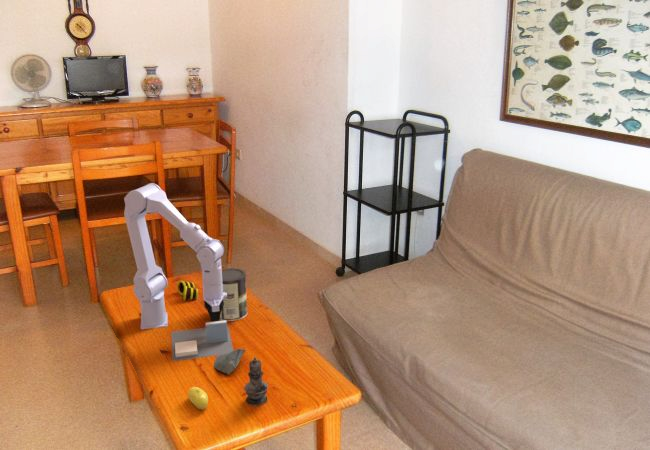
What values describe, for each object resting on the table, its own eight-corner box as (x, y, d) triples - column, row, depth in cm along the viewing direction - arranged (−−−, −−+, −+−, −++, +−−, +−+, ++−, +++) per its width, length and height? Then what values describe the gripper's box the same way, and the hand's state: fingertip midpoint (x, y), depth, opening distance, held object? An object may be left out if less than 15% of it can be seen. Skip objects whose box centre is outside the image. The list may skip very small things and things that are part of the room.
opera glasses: (198, 302, 203) (200, 289, 202) (183, 303, 201) (184, 289, 199) (191, 291, 211) (192, 278, 210) (176, 292, 209) (177, 278, 208)
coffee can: (238, 304, 200) (236, 265, 195) (253, 316, 191) (251, 276, 187) (210, 312, 194) (207, 272, 190) (223, 325, 186) (221, 283, 181)
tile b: (206, 341, 176) (205, 322, 174) (227, 338, 177) (226, 320, 175) (207, 343, 174) (205, 325, 173) (227, 341, 176) (226, 322, 174)
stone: (210, 383, 158) (246, 373, 157) (205, 370, 157) (241, 359, 156) (216, 365, 168) (250, 355, 168) (212, 352, 167) (245, 342, 167)
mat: (171, 333, 181) (171, 332, 181) (227, 326, 185) (227, 325, 185) (172, 362, 166) (172, 361, 165) (234, 354, 170) (234, 353, 170)
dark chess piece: (245, 393, 152) (243, 351, 148) (268, 392, 152) (267, 350, 148) (244, 407, 146) (242, 364, 142) (268, 406, 147) (267, 363, 143)
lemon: (195, 415, 144) (194, 401, 142) (186, 397, 150) (184, 384, 149) (212, 410, 145) (211, 396, 144) (202, 393, 152) (201, 379, 151)
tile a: (174, 342, 172) (175, 353, 166) (196, 340, 173) (197, 350, 168) (175, 347, 172) (175, 358, 167) (196, 345, 174) (197, 355, 168)
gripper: (228, 290, 170) (231, 332, 174) (223, 270, 183) (226, 310, 187) (203, 292, 168) (206, 335, 172) (200, 272, 181) (203, 313, 186)
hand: (215, 322), depth 180 cm, fingers closed
